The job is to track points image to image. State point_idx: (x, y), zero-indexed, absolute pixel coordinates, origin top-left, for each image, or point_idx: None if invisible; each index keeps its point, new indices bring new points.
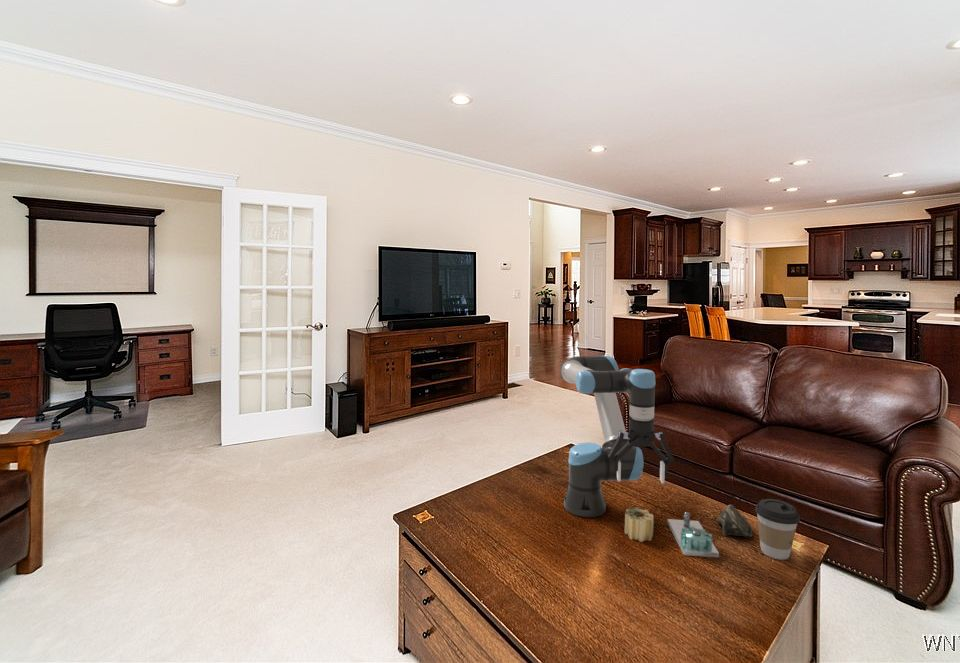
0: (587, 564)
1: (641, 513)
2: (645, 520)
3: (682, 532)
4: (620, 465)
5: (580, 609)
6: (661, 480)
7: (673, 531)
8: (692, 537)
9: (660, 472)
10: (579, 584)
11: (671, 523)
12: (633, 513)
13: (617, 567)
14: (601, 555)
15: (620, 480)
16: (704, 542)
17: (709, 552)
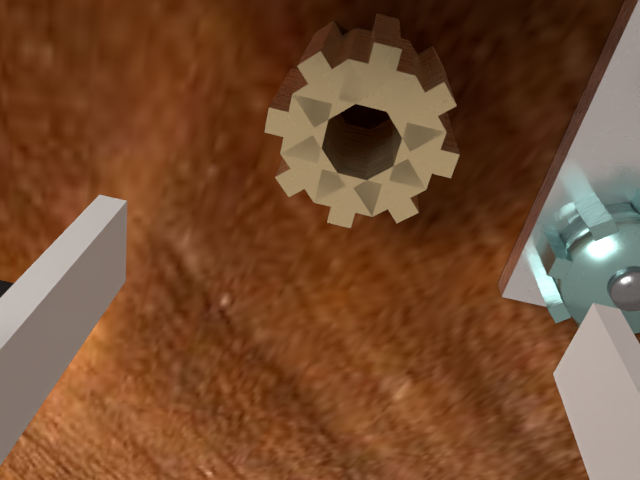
0: None
1: (391, 118)
2: (369, 214)
3: (560, 262)
4: (19, 427)
5: (26, 442)
6: (566, 381)
7: (574, 133)
8: (579, 307)
9: (615, 401)
10: None
11: (624, 55)
12: (325, 130)
13: (174, 312)
14: None
15: (119, 289)
16: None
17: None
